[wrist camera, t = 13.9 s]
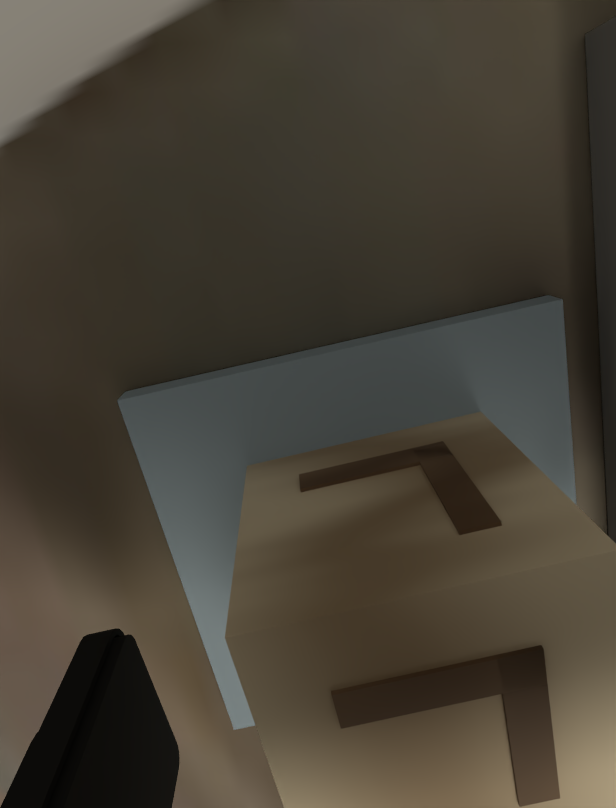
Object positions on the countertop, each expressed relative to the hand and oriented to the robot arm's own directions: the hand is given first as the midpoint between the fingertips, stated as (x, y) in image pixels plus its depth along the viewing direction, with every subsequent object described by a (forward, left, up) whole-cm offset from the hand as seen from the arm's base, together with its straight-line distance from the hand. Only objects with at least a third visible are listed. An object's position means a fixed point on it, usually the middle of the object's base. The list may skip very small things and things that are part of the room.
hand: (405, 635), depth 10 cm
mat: (0, 0, -4) cm, 4 cm away
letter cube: (0, 0, -3) cm, 3 cm away
